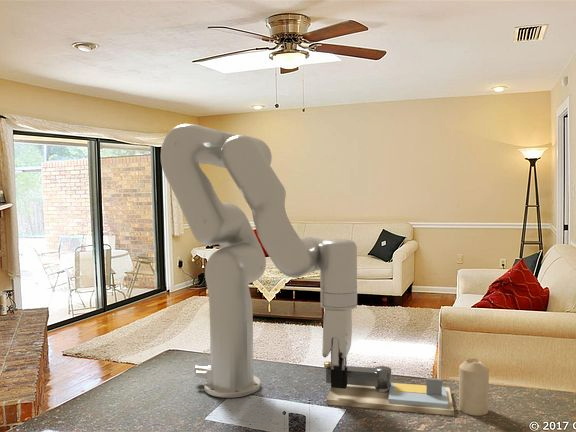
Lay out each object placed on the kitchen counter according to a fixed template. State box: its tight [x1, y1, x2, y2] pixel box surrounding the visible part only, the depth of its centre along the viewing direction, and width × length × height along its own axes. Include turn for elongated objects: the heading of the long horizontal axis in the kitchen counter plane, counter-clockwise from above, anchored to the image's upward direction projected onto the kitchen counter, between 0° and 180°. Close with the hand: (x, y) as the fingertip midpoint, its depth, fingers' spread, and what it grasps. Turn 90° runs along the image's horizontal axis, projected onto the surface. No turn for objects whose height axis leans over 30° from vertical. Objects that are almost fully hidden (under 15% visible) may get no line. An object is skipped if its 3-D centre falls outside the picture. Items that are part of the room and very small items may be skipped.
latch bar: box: [323, 361, 392, 388], centre depth 111 cm, size 14×4×4 cm, turn 76°
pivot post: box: [375, 387, 390, 393], centre depth 110 cm, size 3×3×2 cm
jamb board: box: [325, 384, 455, 416], centre depth 108 cm, size 25×12×1 cm, turn 76°
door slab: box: [389, 377, 448, 408], centre depth 106 cm, size 12×9×4 cm
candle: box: [458, 358, 490, 417], centre depth 102 cm, size 6×6×10 cm
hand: (339, 386), depth 107 cm, fingers closed
